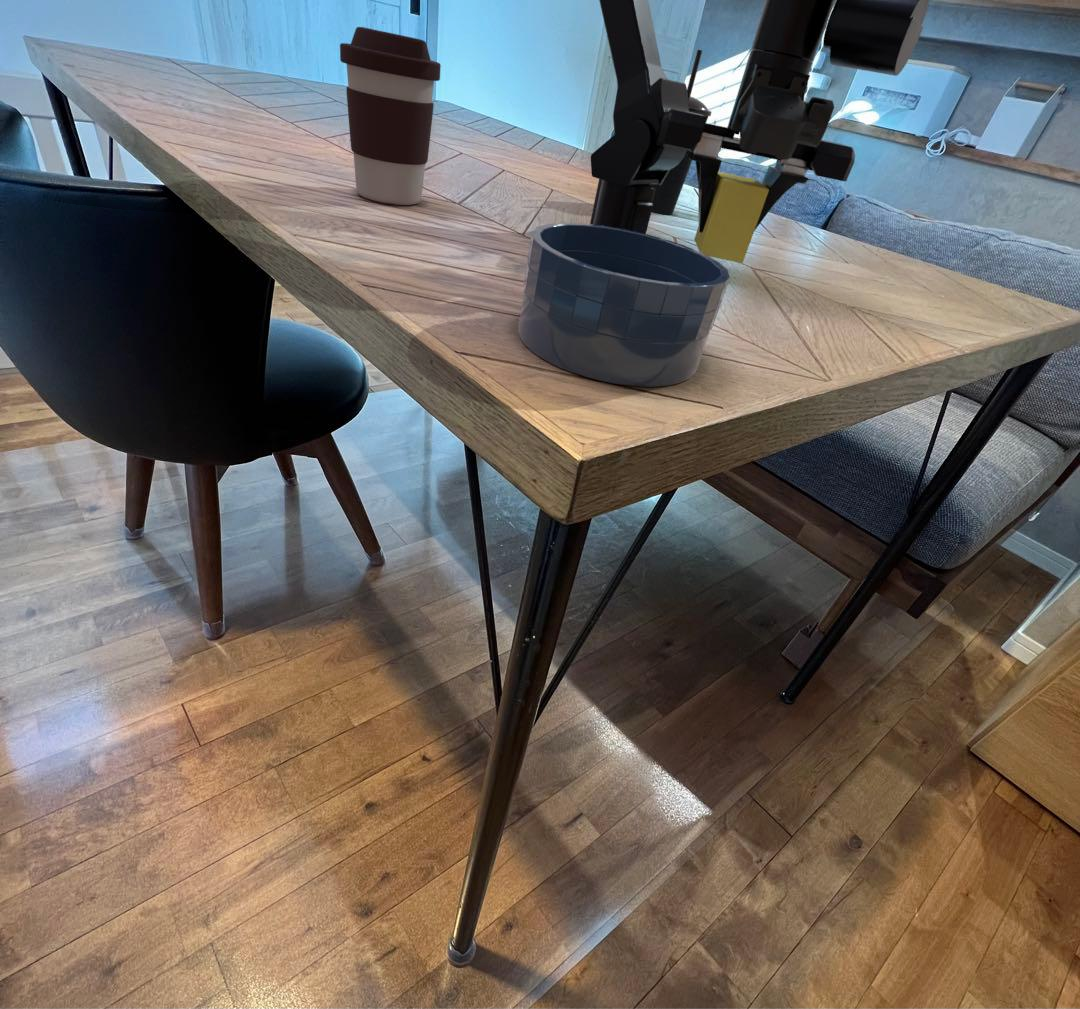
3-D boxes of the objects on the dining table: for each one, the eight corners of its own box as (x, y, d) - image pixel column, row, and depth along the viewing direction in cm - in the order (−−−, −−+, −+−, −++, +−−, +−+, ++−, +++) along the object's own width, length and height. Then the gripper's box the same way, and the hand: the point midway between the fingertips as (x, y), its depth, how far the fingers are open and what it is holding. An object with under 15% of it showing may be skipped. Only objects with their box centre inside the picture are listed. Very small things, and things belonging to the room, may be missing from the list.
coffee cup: (390, 212, 62) (393, 34, 53) (324, 189, 66) (316, 17, 57) (450, 206, 70) (461, 48, 61) (388, 185, 73) (390, 32, 64)
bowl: (483, 315, 43) (494, 220, 39) (616, 305, 50) (636, 224, 46) (594, 399, 35) (622, 290, 31) (734, 373, 42) (770, 282, 38)
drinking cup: (681, 220, 88) (729, 54, 76) (631, 209, 88) (671, 42, 77) (681, 211, 94) (726, 57, 82) (635, 201, 95) (672, 46, 83)
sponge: (694, 239, 67) (715, 170, 63) (732, 248, 67) (756, 179, 63) (700, 254, 61) (724, 180, 57) (742, 263, 61) (769, 189, 57)
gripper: (690, 29, 47) (638, 234, 57) (915, 77, 48) (827, 274, 57) (679, 37, 56) (636, 213, 66) (869, 77, 57) (799, 247, 66)
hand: (722, 236), depth 63 cm, fingers closed on sponge, 4 cm apart
